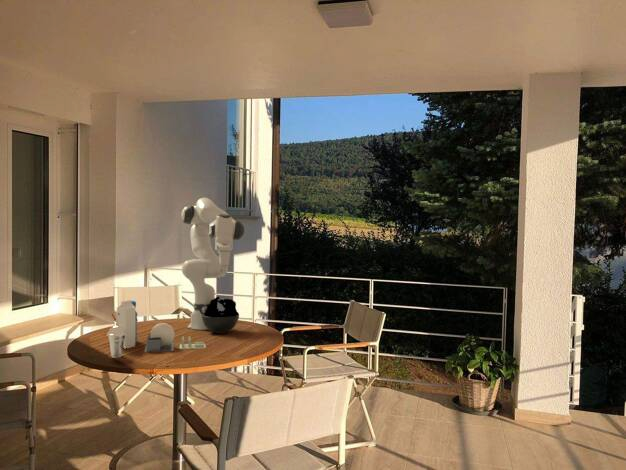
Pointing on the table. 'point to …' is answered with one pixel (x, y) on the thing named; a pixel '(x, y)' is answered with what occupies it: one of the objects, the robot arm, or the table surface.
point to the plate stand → (191, 346)
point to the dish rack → (157, 345)
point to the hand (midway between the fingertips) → (223, 273)
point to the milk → (127, 322)
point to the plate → (163, 333)
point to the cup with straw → (116, 339)
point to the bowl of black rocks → (220, 315)
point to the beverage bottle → (135, 320)
